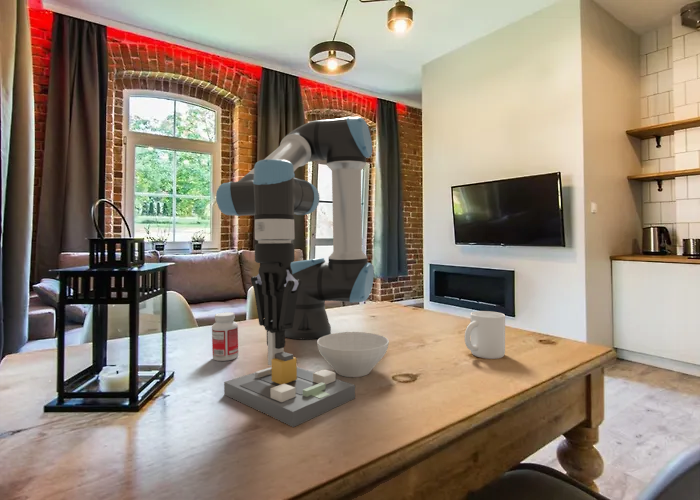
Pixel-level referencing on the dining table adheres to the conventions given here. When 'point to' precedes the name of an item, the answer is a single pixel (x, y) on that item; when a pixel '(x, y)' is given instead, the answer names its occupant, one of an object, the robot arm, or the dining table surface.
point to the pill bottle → (225, 337)
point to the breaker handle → (284, 368)
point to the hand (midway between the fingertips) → (276, 363)
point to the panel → (291, 406)
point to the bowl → (352, 352)
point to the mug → (486, 334)
